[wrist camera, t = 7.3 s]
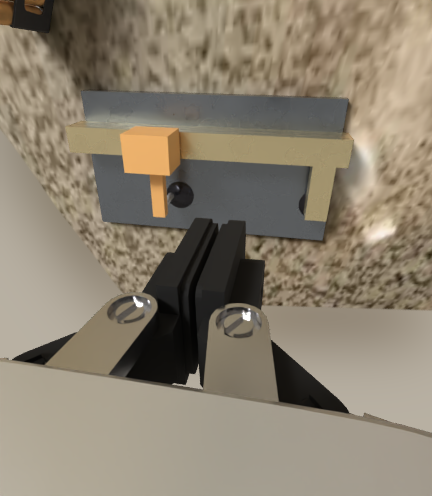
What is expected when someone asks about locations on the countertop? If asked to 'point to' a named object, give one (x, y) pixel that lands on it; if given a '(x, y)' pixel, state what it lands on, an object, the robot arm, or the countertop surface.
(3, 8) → the ammunition clip
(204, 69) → the countertop surface
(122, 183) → the drilled steel plate with beam
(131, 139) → the sliding head
